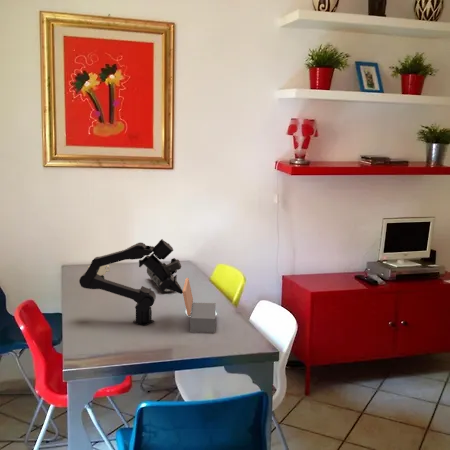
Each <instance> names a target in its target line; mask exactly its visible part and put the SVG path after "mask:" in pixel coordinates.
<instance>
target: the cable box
mask: <svg viewBox="0 0 450 450" xmlns="http://www.w3.org/2000/svg"><path fill="white" fill-rule="evenodd" d="M216 305H217V304H216V303H215V302H193V305H192V311H191V316H190V318H189V321H190V323H189V325H190V326H189V332H190V333H207V334H209V333H212V334H215V331H216Z"/></svg>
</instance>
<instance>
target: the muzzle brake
mask: <svg viewBox="0 0 450 450" xmlns="http://www.w3.org/2000/svg"><path fill="white" fill-rule="evenodd" d="M146 273H147V276H149V277H150V279H151V280H152V281H153V282H154V283H155V284H156V287H158V288H159V285H160V282H159V281H160V280H159V279H158V278H157V277H156V276H153V275H152V274H153V273H152V272H151V271H150V270H149V269H148V268H147V267H146ZM172 276H174V274H173V275H172ZM171 291H172V290H169V289H165V290H164V291H163V292H171Z"/></svg>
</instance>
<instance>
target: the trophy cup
mask: <svg viewBox="0 0 450 450" xmlns="http://www.w3.org/2000/svg"><path fill="white" fill-rule="evenodd" d="M89 266H90V265H88V266H87V269H88V268H89ZM109 272H110V264H108V265H104V266H101V267H100V268H99V270H98V272H97V274H98V275H100V276H101V277H102V278H103V279H105V275H106V274H107V273H109Z"/></svg>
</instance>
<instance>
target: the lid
mask: <svg viewBox="0 0 450 450" xmlns="http://www.w3.org/2000/svg"><path fill="white" fill-rule="evenodd" d="M190 283H191V282H190V279H189V277H186V278H185V280H184V284H183V288H182V290H183V293H182V296H183V301H184V305H185V306H184V307H185V310H186V314H187V317H191V311H192V306H193V303H194V298H193V293H192V288H191V284H190Z"/></svg>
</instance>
